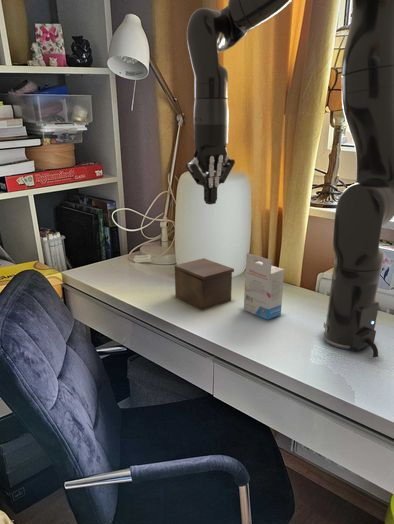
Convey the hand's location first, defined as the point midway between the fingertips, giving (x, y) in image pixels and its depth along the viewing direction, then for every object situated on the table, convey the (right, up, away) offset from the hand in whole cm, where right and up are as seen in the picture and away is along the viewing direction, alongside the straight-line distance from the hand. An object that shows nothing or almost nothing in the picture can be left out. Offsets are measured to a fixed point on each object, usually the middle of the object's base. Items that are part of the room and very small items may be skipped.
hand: (210, 203), depth 112 cm
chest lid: (-1, -14, +10) cm, 17 cm away
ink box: (+13, -25, +6) cm, 29 cm away
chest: (-2, -21, +14) cm, 25 cm away
